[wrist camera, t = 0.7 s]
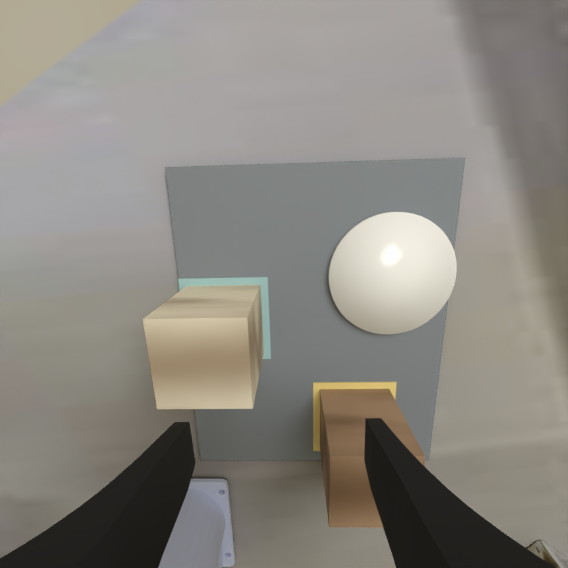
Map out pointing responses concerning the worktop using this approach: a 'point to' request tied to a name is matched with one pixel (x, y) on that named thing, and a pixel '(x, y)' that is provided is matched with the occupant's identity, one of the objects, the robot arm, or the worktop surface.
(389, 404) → the walnut block
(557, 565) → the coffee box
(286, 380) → the grey board
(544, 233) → the worktop surface
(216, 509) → the robot arm
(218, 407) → the beech block
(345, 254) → the white flat disc
